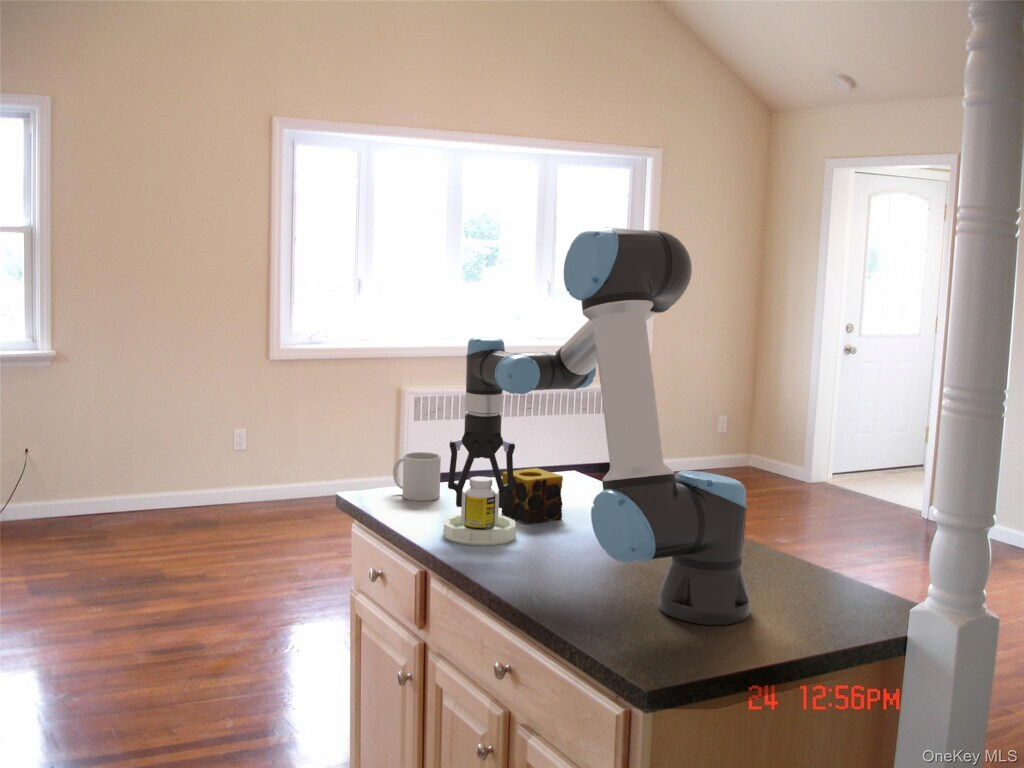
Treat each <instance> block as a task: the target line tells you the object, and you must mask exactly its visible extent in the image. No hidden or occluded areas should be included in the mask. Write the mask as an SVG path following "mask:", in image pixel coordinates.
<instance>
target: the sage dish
mask: <svg viewBox="0 0 1024 768" xmlns="http://www.w3.org/2000/svg"><path fill="white" fill-rule="evenodd" d="M464 525H465V524H461V513H459V514H452V515H450V516H448V517H446V518H444V519H443V529H442V533H443V534H442V535H443V538H444V539H445V540H447V541H449V540H450V541H449V542H452V543H456V544H460V545H464V544H465V546H473V547H474V546H475V547H491V546H499V545H500V546H501V545H505V544H508V543H510V542H513V541H514V540H515V538H516V530H517V529H516V528H517V525H516V520H515V519H512V518H510V517H508V516H505V515H502V514H501V515H500V514H498V525H494V530H490V531H478V530H467V529H465V528H464Z"/></svg>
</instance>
